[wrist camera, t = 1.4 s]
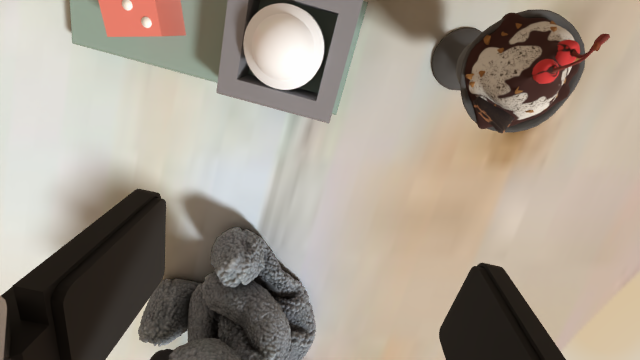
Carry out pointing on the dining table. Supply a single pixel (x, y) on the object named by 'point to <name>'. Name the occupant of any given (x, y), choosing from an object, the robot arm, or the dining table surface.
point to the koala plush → (232, 308)
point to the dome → (284, 46)
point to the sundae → (513, 68)
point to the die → (142, 18)
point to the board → (236, 49)
